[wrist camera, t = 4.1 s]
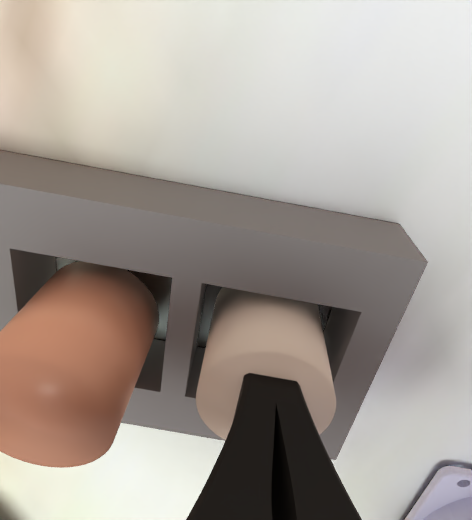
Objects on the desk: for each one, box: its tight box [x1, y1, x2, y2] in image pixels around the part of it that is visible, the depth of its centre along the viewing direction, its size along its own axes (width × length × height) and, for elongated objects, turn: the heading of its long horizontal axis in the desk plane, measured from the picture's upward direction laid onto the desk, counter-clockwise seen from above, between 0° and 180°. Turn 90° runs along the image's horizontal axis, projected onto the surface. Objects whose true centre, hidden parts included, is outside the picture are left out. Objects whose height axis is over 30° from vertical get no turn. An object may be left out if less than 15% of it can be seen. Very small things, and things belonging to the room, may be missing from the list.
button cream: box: [196, 287, 336, 440], centre depth 12 cm, size 4×4×4 cm
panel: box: [0, 150, 428, 460], centre depth 13 cm, size 17×8×2 cm, turn 81°
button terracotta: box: [0, 261, 159, 467], centre depth 11 cm, size 4×4×4 cm
